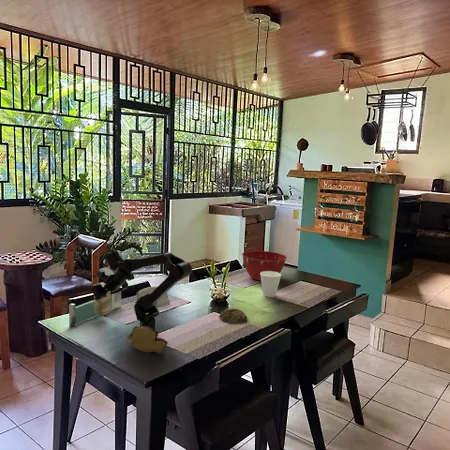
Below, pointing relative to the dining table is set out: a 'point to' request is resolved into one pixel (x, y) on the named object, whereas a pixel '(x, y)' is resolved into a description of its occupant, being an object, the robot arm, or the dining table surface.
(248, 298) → the dining table surface
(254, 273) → the mixing bowl
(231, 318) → the brown dome mound
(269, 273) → the cup
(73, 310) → the frame
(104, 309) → the block
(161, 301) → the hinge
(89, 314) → the green upright panel
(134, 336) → the wooden carving
